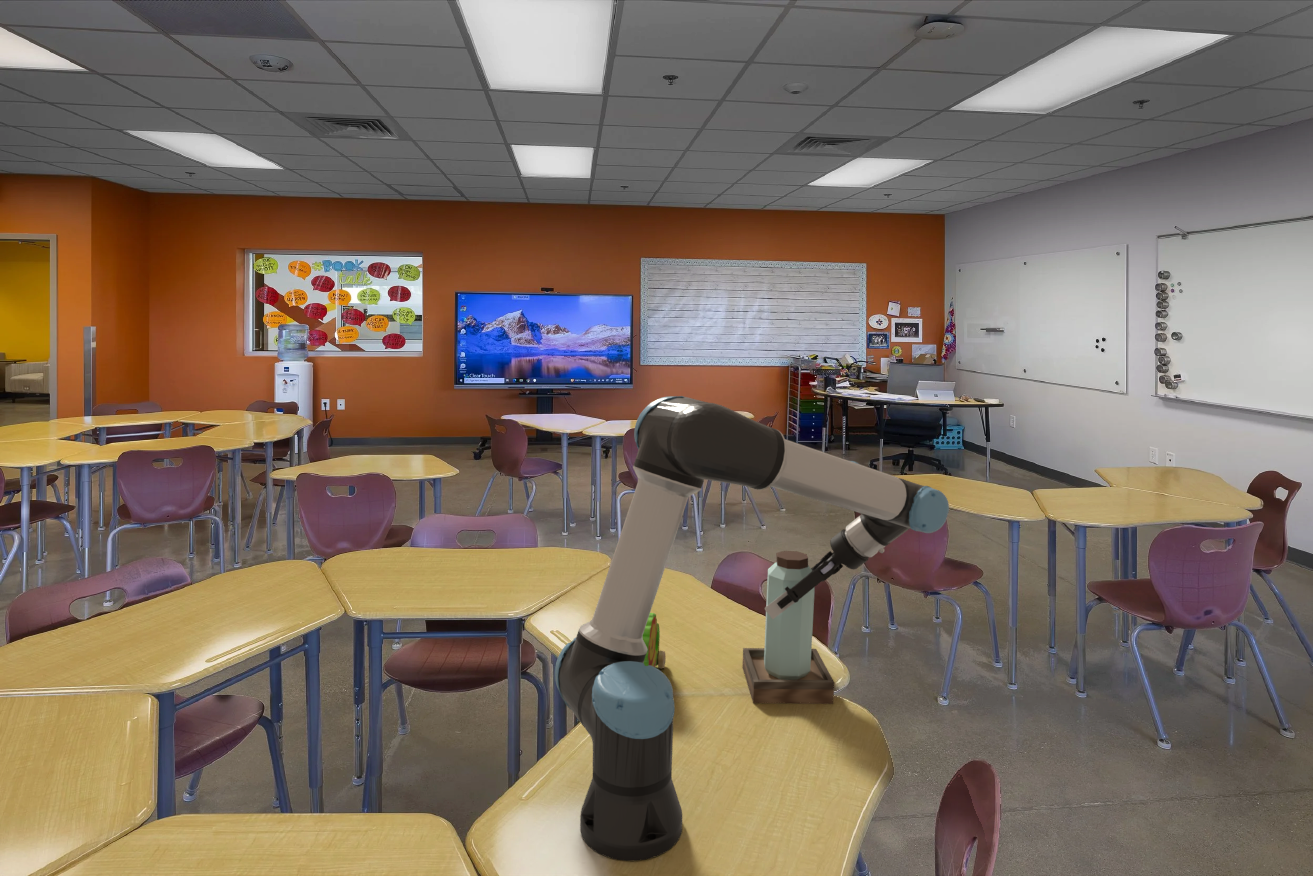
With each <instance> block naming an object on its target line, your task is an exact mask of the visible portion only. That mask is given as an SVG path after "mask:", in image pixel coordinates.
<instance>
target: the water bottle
mask: <svg viewBox="0 0 1313 876" xmlns="http://www.w3.org/2000/svg"><path fill="white" fill-rule="evenodd" d="M775 561H776V562H774V563H773V564H772V565H771V566H770V567H769V568H767V577H766V579H767V580H766V581H767V583H766V606H768V605H769V604H770V603H772V602H773V601H774V600H775V599H777V598H778V597H779V596H781V595H782V594H783V593H784V592H786V590H785V588H786V587H787V586H788V588H789V589H791V588H792V587H793V586H795V585H796V584H797V583H798V582H800V581H801V580H802V579H803V578H804V577H806V576H807V575H808V574H809V573H810V572H812V569H811V568H812V567H811V566H810V565H809V557H808V554H807V553H804V552H800V551H797V550H782V551H778V552H776V560H775ZM815 588H816V586H815V587H814V588H813V589H812V590H810V591H809V592H808V593H807V594H805V595H804V596H803V597H802V598H800V599H799V600H798V602H796V603H794V604H792V605H791V606H790V607H789V608H787V609H786V610H785V611H783V612H782V613H781V614H779V615H778V616H777V617H775V618H774V619H772V618H771V617H770V615H769V614H768V613H767V612H766V611H765V628H764V629H765V631H764V648H765V649H764V665H765V669H766V671H767V672H768V674H770V675H772V676H774V677H776V678H778V679H783V680H798V679H800V678H802V677H805V676H806V675H807V674H808V673H809V672H810V667H811V649H813V647H812V645H813V644H812V643H813V629H814V627H813V626H814V625H813V624H814V607H815V605H814V603H815ZM766 606H765V607H766Z"/></svg>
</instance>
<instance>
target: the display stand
mask: <svg viewBox="0 0 1313 876" xmlns="http://www.w3.org/2000/svg"><path fill="white" fill-rule="evenodd" d="M764 649H765V647H764V648H763V647H758V648H756V647H755V648H754V647H748V648H747V647H743V648H742V666H741V667H742V670H743V674H745V675H744V677H745V680H746V685H747V687H748V690H749V695H750V698H751V700H752V703H753V704H796V705H797V704H803V705H804V704H808V705H809V704H812V705H814V704H816V705H818V704H819V705H820V704H821V705H822V704H823V705H824V704H825V705H828V704H829V705H831V704H832V705H833V704H834V699H835V698H834V697H835V696H834V695H835V694H834V693H835V680H834V679H833V677H832V675H831V673H830V671H829V670H828V668H827V666H826V664H825V663H824V660H823V658H822V657H821V655H820V653H819V652H818V650H817V648H811V667H810V672H809V673H808V674H807V675H806V676H805V677H802V678H800V679H798V680H783V679H778V678H776V677H774V676H772V675H770V674H768V672H767V671H766V669H765V665H764ZM833 696H834V697H833Z"/></svg>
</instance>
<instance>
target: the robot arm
mask: <svg viewBox="0 0 1313 876" xmlns="http://www.w3.org/2000/svg"><path fill="white" fill-rule="evenodd" d="M633 433H634V434H633V435H634V442H635V444H636V445H635V446H636V447H637V449H638V451H637V455H636V456H635V460H634V462H633V465H632V466H633V467H632V470H633V471H634V473H635V475H636V477H637V484H636V486H635V490H634V492H633V495H632V496H633V497H632V499H631V502H630V504H629V508H628V510H627V513H626V516H625V520H624V523H623V525H622V526H623V527H622V529H621V531H620V533H619V538H618V541H617V544H616V547H615V550H614V553H613V556H612V558H611V561H610V565H609V569H608V571H607V573H606V576H605V579H604V580H605V581H604V582H603V583H604V584H603V586H602V589H601V591H600V595H599V598H598V601H597V604H596V607H595V610H594V613H593V616H592V619H591V620H590V621H588V622H586V623H584V624H582V625H580V626H579V628H578V631H577V634H576V637H574V638H573V640H572V641H570V642H568V643H566V644H565V645H564V647H563V648H562V649H561V651H560V652H559V654H558V657H557V660H556V663H555V667H554V681H555V684H556V687H557V690H558V691H559V694H560V697H561V699H562V700H563V702H564V704H565V705H566V706H567V708H568V709H569V710H570V711H572V713H573V714H574V716H575V717H576V719H578V721H579V722H580V724H581V725H582V726H583V728H584V729H585V730H586V732H587V733H588V735H589V736H590V738H591V740H592V741H591V742H592V779H591V781H590V783H589V786H588V790H587V792H586V795H585V798H584V801H583V803H582V805H581V806H582V807H581V809H580V816H579V818H580V822H579V826H580V827H579V828H580V829H579V830H580V835H581V837H582V839H583V841H584V842H585V844H586V845H587V846H588V847H589V848H590V849H591V850H593V851H594V852H595V853H597V854H600V855H601V856H604V857H606V858H610V859H614V860H618V861H627V862H629V861H630V862H631V861H632V862H634V861H644V860H649V859H652V858H655V857H659V856H661V855H663V854H665V853H666V852H668V851H670V850H671V849H672V848H673V847H674V846H675V845H676V844H678V843H677V842H678V841H679V840H680V838H681V835H682V833H683V809H682V807H681V804H680V800H679V797H678V794H677V791H676V788H675V785H674V782H673V778H672V776H673V775H672V773H673V772H672V769H673V767H672V766H673V739H674V716H675V700H674V690H673V686H672V683H671V681H670V680H669V678H668V677H667V676H666V674H665V673H663V672H662V670H660V669H659V668H656V666H655V667H653V666H651V665H649V666H645V665H644V659H645V656H646V653H647V647H646V645H645V643H644V641H643V638H642V635H643V632H644V629H645V626H646V623H647V620H648V617H649V614H650V613H651V611H652V608H653V605H654V603H655V599H656V596H657V593H658V590H659V587H660V584H661V582H662V578H663V575H664V572H665V568H666V566H667V563H668V560H669V557H670V554H671V551H672V547H673V545H674V542H675V539H676V536H677V533H678V529H679V527H680V524H681V521H682V518H683V514H684V511H685V509H686V505H687V503H688V500H689V498H690V497H691V496H693V495H695V494H696V493H698V492H700V491H702V488H703V484H704V482H705V480H707V481H713V482H718V483H725V484H732V485H737V486H742V487H747V488H750V489H754V490H757V491H761V490H762V491H763V490H765V489H768V488H769V487H770V488H774V489H777V490H780V491H781V490H782V491H784V492H787V493H790V494H791V493H792V494H794V495H798V496H801V497H804V498H808V499H812V500H815V501H818V502H822V503H824V504H829V505H831V506H835V507H839V508H842V509H845V510H849V511H851V512H852V511H853V512H855V513H858V514H860V515H858V516H857V517H856V518H855V519H853V521H851V522H850V523H848V524H847V525H846V526H845V529H841V530H840V531H839V532H838V533H836V534H835V535H834V536H832V538H831V539H830V541H829V544H830V545H829V546H830V548H831V550H829V551H828V552H827V553H826V554H825V555H823V557H821V558H820V561H818V562H816V564H815V565H814V566H813V567H810V568H811V569H812V572H810V573H809V574H808V575H807V576H806V577H804V578H803V579H802V580H801V581H800V582H798V583H797V584H796V585H795V586H793V587H792V588H791V589H789V588H788V586H787V587H786V588H785V590H786V592H784V593H783V594H782V595H781V596H779V597H778V598H777V599H775V600H774V601H773V602H772V603H770V604H769V605H768V606H765V607H764V608H763V609H764V611H765V613H766V612H767V613H768V614H769V615H770V617H771V618H772V619H774V618H775V617H777V616H778V615H779V614H781V613H782V612H783V611H785V610H786V609H787V608H789V607H790V606H791V605H792V604H794V603H796V602H798V600H799V599H800V598H802V597H803V596H804V595H805V594H807V593H808V592H809V591H810V590H812V589H813V588H814V587H815V588H816V587H817V586H818V585H819V584H820V583H822V582H823V583H824V582H826V581H827V580H828V579H829V578H830V577H832V576H834V575H836V574H837V573H839V572H840V570H841V569H842V568H844V566H845V567H846V568H847V569H850V570H857V569H858V568H860V567H861V566H863V565H864V564H865V563H866V562H867V561H869V558H873V557H874V556H875V555H876V554H878V553H880V554H883V553H885V548H886V547H887V546H889V545H890V544H891V543H892V542H894V541H895V540H896V539H897V538H899V537H901V535H903V534H904V533H906V532H908V530H913V531H915V532H921V533H924V534H932V533H936V532H937V531H939V530H940V529H941V528H943V526H944V524H945V523H946V521H947V518H948V515H949V513H950V512H949V511H950V505H949V501H948V498H947V496H946V495H945V493H944V492H942V491H941V490H938V489H935V488H933V487H931V486H928V485H923V484H919V483H915V482H913V481H909V480H908V479H907V480H906V479H904V478H900V477H898V476H895V475H892V474H889V473H886V472H883V471H880V470H877V469H874V468H872V467H869V466H866V465H863V464H860V463H859V462H857V461H854V460H847V459H844V458H841V457H839V456H836V455H833V454H829V453H827V452H823V451H821V450H818V449H815V448H812V447H810V446H806V445H803V444H801V443H798V442H794V441H792V440H789V439H785V436H784V434H783V433H782V432H781V431H780V430H778V429H777V428H773V427H771V426H768V425H766V424H764V423H760V422H758V421H756V420H754V419H752V418H749V417H748V416H745V415H743V414H742V413H739V412H737V411H735V410H733V409H731V408H729V407H727V406H724V405H722V404H717V403H714V402H708V401H703V400H699V399H695V398H691V397H688V396H683V395H679V396H678V395H674V396H672V395H671V396H663V397H660V398H658V399H656V400H654V401H651V402H650V403H649V404H647V406H645V408H644V409H643V410H642V411H641V412H640V413H639V416H638V417H637V420H636V421H635V425H634V432H633Z"/></svg>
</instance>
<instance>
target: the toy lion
mask: <svg viewBox="0 0 1313 876" xmlns="http://www.w3.org/2000/svg"><path fill="white" fill-rule="evenodd" d="M660 635H661V634H660V625H659V623H658V619H657V614H656V613H654V612H650V614H649V617H648V620H647V623H646V626H645V629H644V632H643V635H642V638H643V641H644V643H645V645H646V647H647V653H646V656H645V659H644V665H645V666H649V665H651V666H653V667H655V668H656V667H657V666H658V668H657V669H662V668H664V669H665V665H666V659H667V657H666V656H667V655H666V651H665V650H660Z"/></svg>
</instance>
